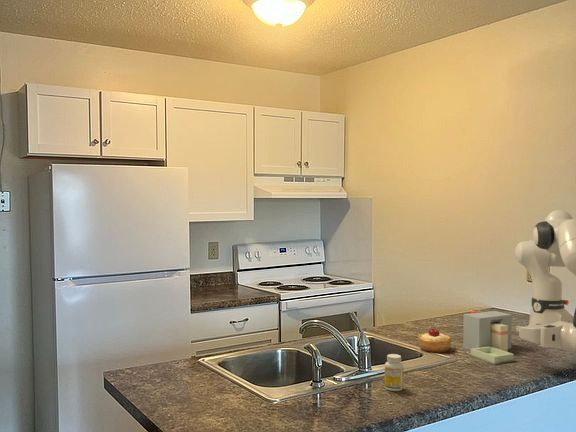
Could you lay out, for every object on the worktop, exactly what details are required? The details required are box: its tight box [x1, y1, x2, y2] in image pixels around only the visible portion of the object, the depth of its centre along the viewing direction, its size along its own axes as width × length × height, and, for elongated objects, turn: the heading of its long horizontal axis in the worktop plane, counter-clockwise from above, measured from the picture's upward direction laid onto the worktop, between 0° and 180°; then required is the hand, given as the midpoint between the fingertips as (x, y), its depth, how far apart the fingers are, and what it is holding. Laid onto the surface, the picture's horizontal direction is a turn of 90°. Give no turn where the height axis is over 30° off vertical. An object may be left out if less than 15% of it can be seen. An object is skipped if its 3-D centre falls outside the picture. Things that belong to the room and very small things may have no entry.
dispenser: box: [462, 310, 513, 351], centre depth 203 cm, size 16×8×13 cm, turn 115°
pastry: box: [417, 325, 452, 353], centre depth 201 cm, size 12×12×9 cm
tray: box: [470, 346, 515, 365], centre depth 189 cm, size 9×11×2 cm
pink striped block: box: [490, 322, 509, 352], centre depth 198 cm, size 4×6×10 cm, turn 25°
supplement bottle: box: [384, 353, 404, 392], centre depth 158 cm, size 5×5×10 cm
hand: (527, 326), depth 186 cm, fingers open, 8 cm apart
